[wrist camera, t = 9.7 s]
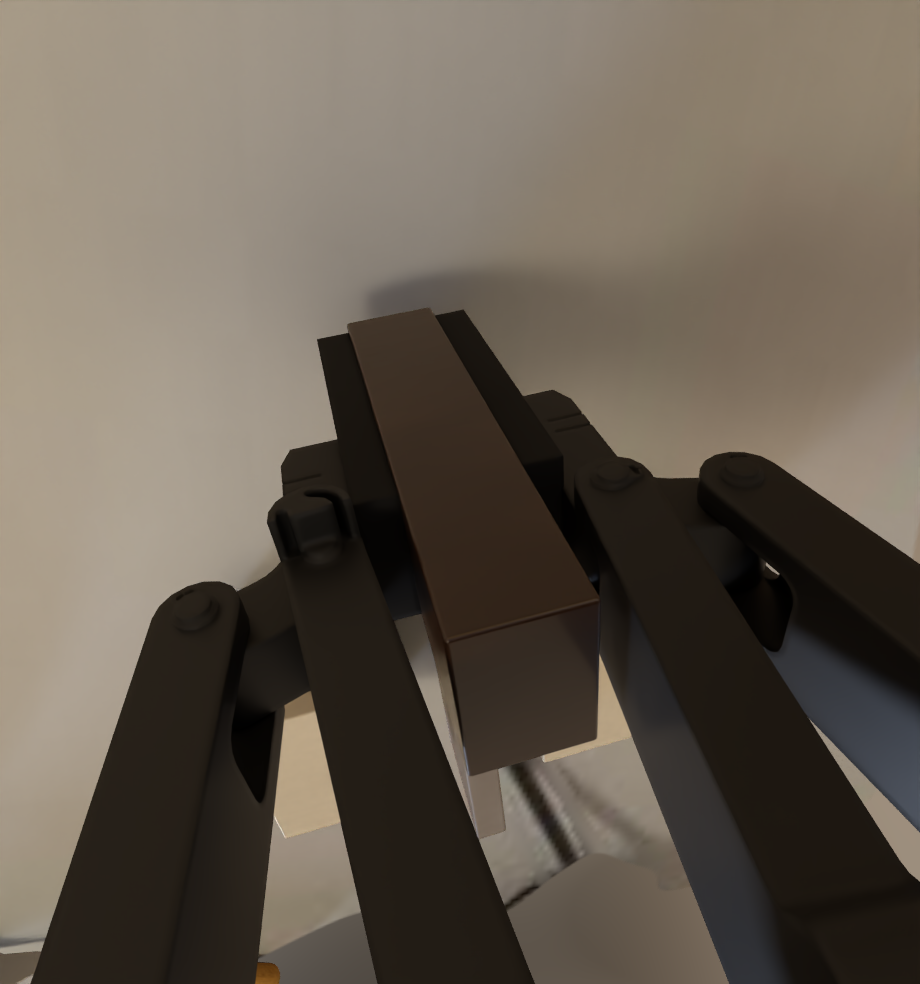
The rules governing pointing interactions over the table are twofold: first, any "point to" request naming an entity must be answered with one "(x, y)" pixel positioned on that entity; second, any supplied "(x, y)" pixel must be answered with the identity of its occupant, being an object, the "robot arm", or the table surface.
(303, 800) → the cake slice
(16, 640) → the table surface
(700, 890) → the robot arm
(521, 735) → the long brown beam
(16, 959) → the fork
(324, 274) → the table surface
